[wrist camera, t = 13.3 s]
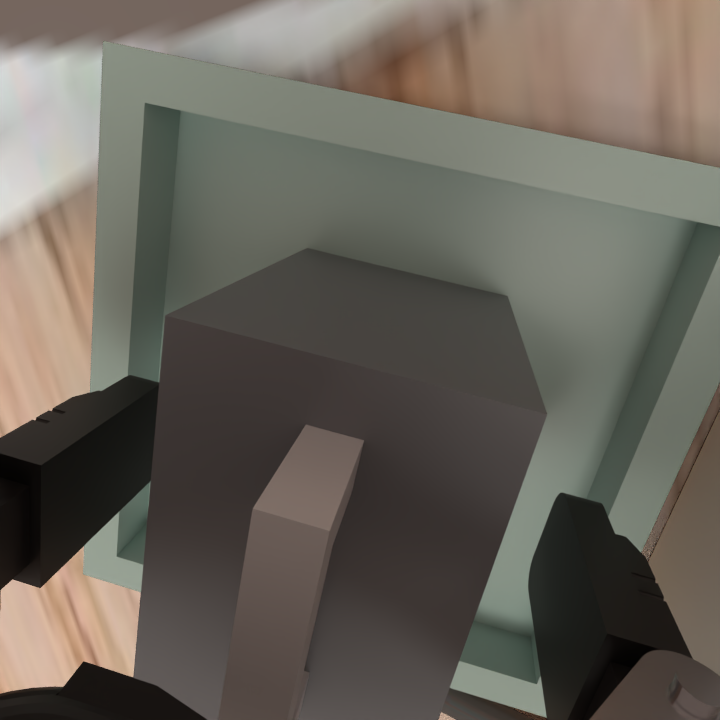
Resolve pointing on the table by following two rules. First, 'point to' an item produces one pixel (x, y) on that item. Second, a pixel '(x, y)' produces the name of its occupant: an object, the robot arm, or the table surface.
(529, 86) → the table surface
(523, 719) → the walkie-talkie
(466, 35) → the table surface
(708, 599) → the printer
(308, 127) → the tray
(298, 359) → the block
